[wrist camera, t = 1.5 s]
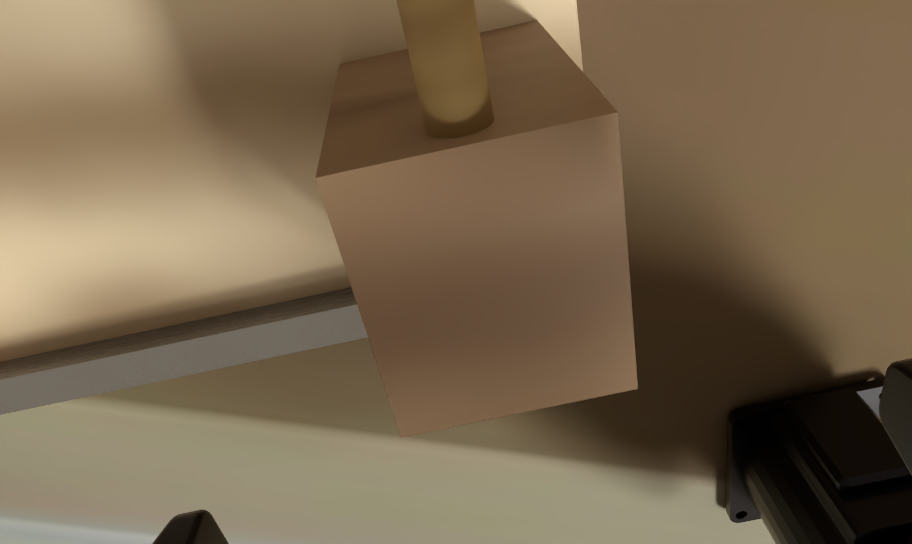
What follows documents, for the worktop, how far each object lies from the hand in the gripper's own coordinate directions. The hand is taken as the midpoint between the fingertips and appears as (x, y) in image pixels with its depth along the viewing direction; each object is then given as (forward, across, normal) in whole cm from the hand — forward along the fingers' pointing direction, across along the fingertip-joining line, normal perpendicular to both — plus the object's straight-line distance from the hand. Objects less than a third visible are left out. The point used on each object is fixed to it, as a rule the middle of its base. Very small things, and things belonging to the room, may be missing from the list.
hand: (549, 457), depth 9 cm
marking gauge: (+11, 0, -2) cm, 11 cm away
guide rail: (+11, +7, +5) cm, 14 cm away
